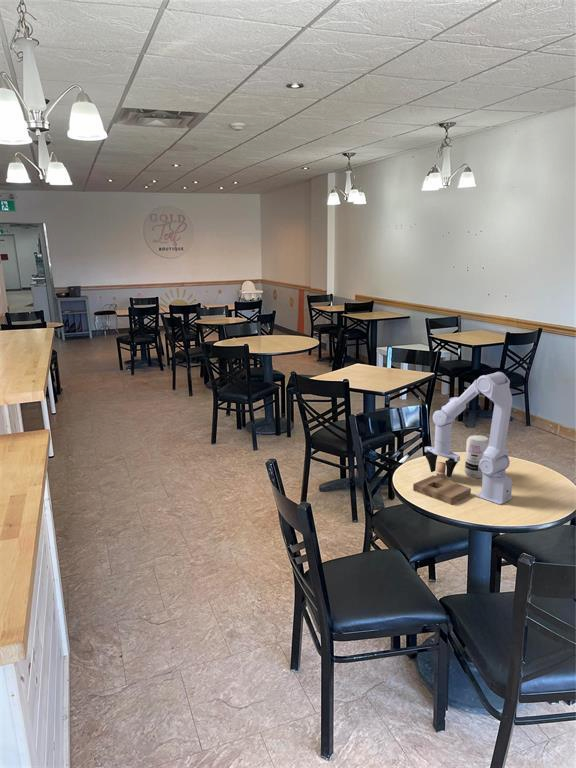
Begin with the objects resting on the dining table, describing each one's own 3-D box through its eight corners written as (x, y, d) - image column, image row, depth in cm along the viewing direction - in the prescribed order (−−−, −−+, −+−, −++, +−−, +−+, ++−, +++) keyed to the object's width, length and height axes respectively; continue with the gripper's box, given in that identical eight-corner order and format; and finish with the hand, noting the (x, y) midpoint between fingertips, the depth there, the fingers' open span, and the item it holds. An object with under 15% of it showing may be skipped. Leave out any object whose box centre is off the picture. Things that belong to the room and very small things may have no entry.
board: (470, 494, 196) (470, 488, 195) (451, 504, 188) (451, 497, 188) (432, 481, 208) (433, 475, 207) (413, 490, 200) (413, 483, 200)
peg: (446, 478, 211) (447, 463, 209) (441, 480, 209) (442, 465, 207) (439, 475, 213) (440, 461, 212) (434, 477, 211) (435, 463, 210)
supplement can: (483, 470, 217) (486, 434, 214) (489, 479, 209) (491, 441, 206) (462, 470, 218) (465, 434, 215) (467, 478, 210) (469, 441, 207)
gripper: (465, 442, 205) (463, 476, 208) (432, 433, 215) (431, 466, 219) (454, 447, 200) (452, 481, 203) (421, 437, 211) (420, 470, 214)
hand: (440, 474), depth 211 cm, fingers open, 7 cm apart
